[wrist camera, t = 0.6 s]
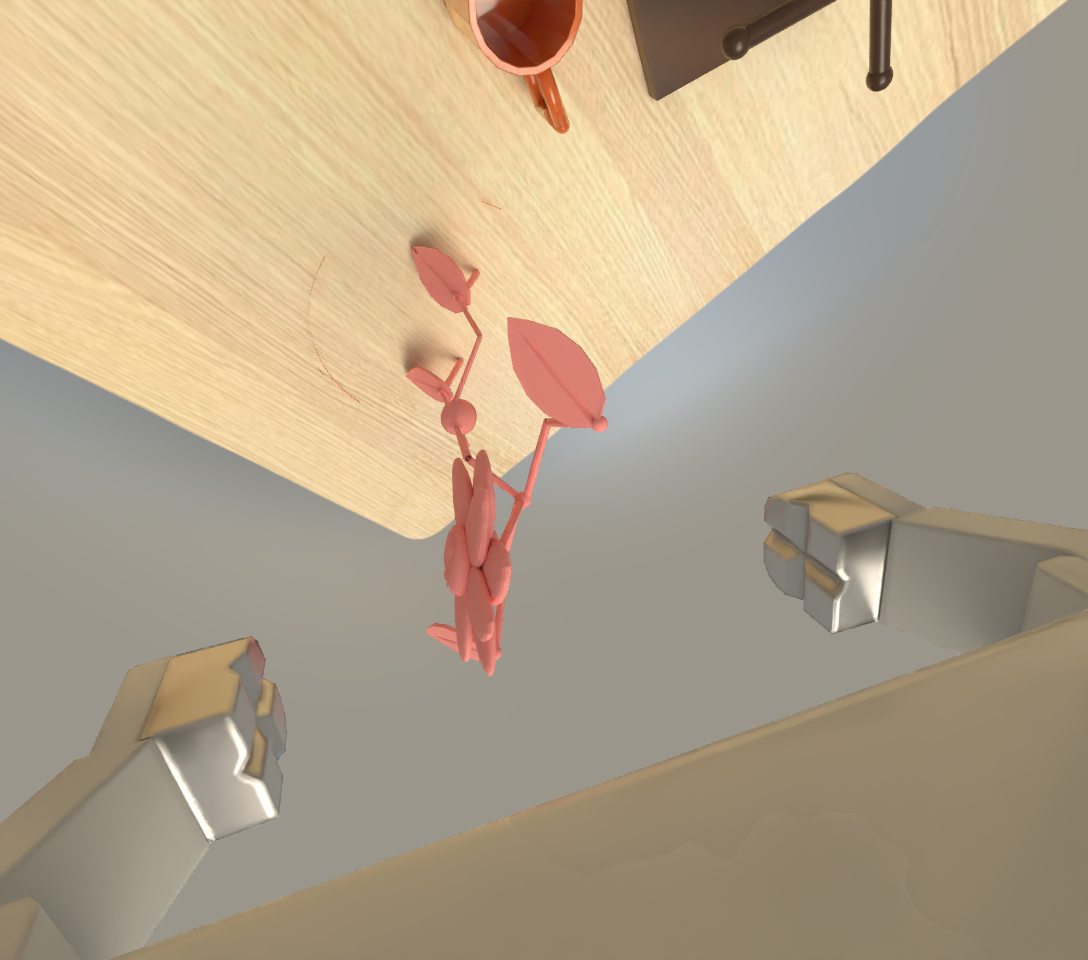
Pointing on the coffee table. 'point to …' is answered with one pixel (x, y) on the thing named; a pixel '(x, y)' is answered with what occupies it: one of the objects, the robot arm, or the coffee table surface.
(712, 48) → the mug tree
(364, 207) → the coffee table surface
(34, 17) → the coffee table surface
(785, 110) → the coffee table surface
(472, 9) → the mug
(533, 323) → the flower sculpture
